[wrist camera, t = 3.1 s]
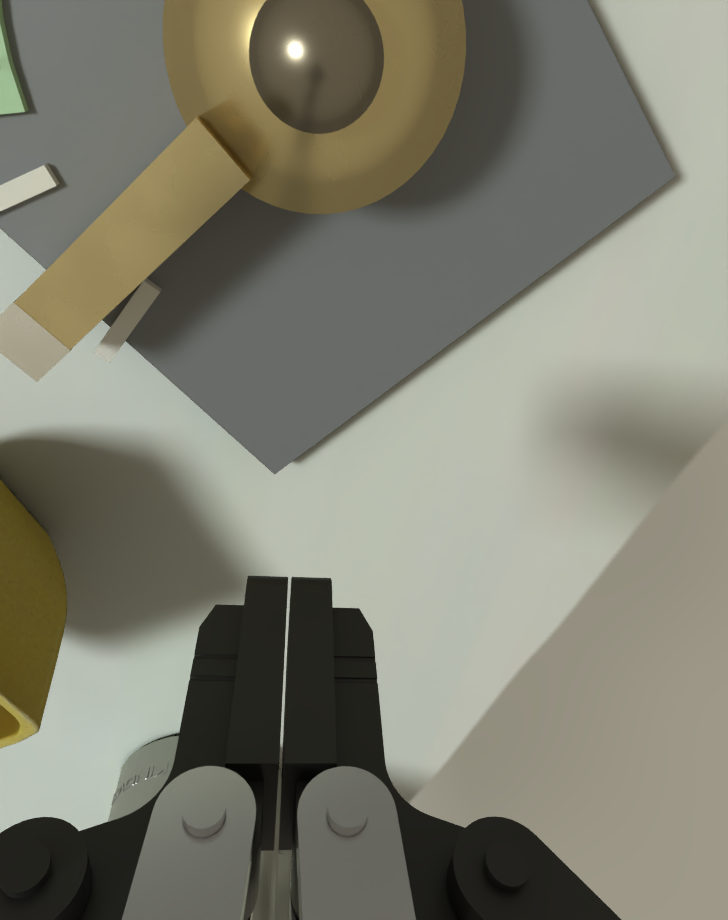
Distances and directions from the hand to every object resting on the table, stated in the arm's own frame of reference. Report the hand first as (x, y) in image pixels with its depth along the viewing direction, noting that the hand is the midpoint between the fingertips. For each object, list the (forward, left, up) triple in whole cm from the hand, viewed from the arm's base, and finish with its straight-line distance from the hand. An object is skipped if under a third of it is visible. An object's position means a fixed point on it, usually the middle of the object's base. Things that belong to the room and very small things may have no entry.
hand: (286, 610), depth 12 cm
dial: (+6, -2, -13) cm, 14 cm away
